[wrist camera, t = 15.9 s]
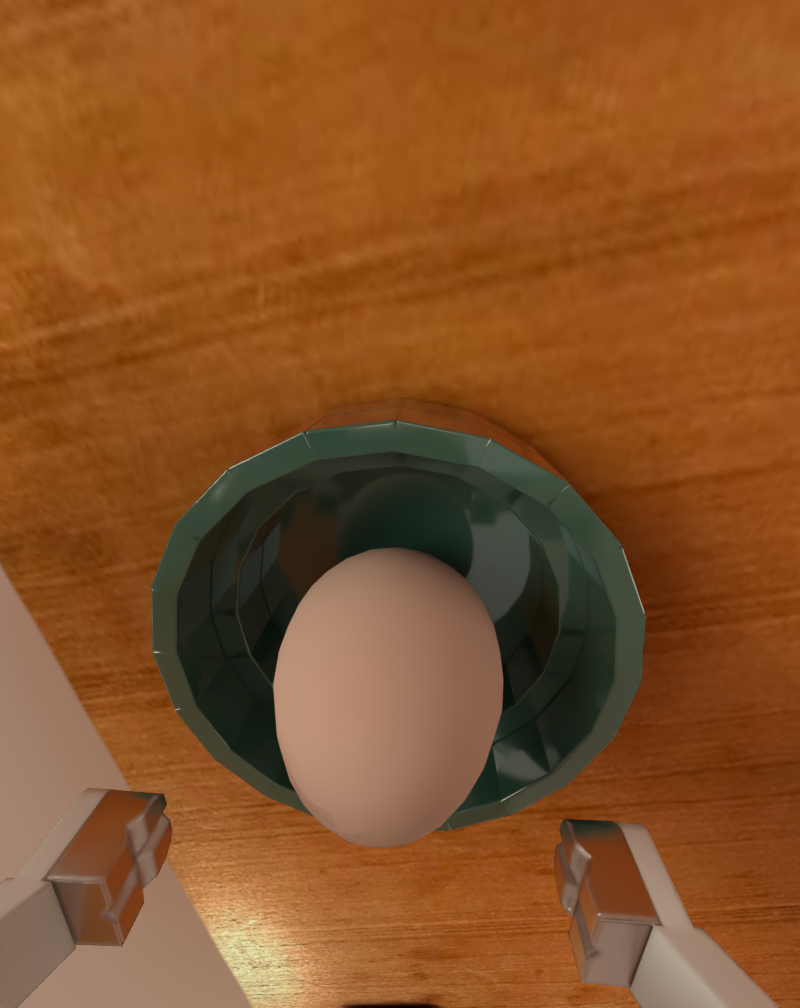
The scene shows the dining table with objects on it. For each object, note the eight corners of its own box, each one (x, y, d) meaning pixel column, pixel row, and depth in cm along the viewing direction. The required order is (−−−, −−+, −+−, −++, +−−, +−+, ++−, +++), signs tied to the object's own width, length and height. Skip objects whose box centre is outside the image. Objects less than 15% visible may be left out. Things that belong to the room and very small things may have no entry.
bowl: (153, 568, 18) (59, 646, 14) (408, 303, 14) (399, 283, 10) (394, 766, 21) (385, 885, 17) (660, 595, 17) (746, 689, 13)
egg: (445, 676, 19) (461, 958, 10) (298, 627, 18) (183, 878, 10) (512, 546, 16) (604, 768, 8) (344, 486, 16) (249, 651, 7)
